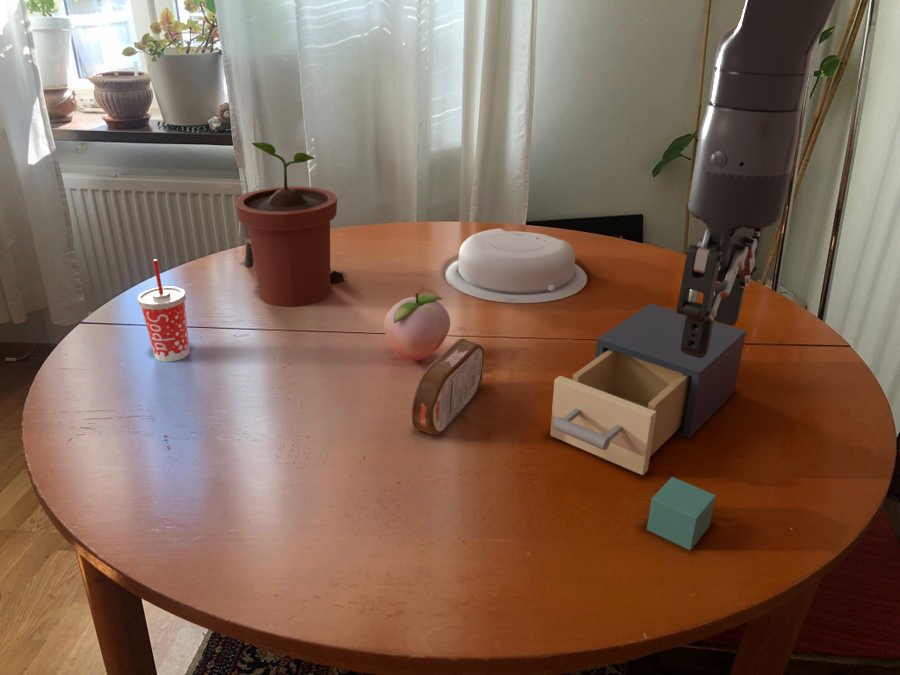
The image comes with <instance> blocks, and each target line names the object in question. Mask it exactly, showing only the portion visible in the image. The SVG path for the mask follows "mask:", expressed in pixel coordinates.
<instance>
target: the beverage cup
mask: <svg viewBox="0 0 900 675" xmlns="http://www.w3.org/2000/svg"><path fill="white" fill-rule="evenodd" d="M152 262H153V267H154V274H155V277H156V284H157V287H153V288H150V289H147V290H144V291H142V292H141V293H139V294H138V296H137V298H136V300H137V302H138V306H139V308H141V310H142V315H143V318H144V322H145V326H146V329H147V330H146V331H147V333H148V337H149V340H150V344H151V348H152V351H153V356H154V359H155V360H157V361H159V362H165V363H169V362H170V363H172V362H176V361H180V360H182V359H183V360H184V359H185V358H186V357H187V356H189V354H190V342H189V332H188V324H187V312H186V303H185V302H186V300H187V297H186V295H187V294H186V291H185V289H183V288H181V287H178V286H171V285H170V286H162V281H161V275H160V274H161V273H160V268H159V263H158V259H157V258H155V259H153V261H152Z"/></svg>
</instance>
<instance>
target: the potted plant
mask: <svg viewBox="0 0 900 675" xmlns="http://www.w3.org/2000/svg"><path fill="white" fill-rule="evenodd" d="M251 144H252V146H254V147H256V148H258V149H259V150H261V151H262V152H265V153H267V154H268V155H270V156H272V157H275V158H277V159H278V160H280V161H281V162H282V164H283V186H274V187H267V188H261V189H257V190H253V191H249V192H246V193H244V194H242V195H240V196H238V197H237V199H235V201H234V204H235V208H236V212H237V216H238V221H239V222H238V235H239V237H240V239H242V240H249V241H247V242H246V244H245V256H244V257H245V258H244V266H245V268H248V269H252V268H253V267H254V270H255V274H256V280H257V286H258V291H259V296H260V299H261V300H262V301H263V302H265V303H267V304H269V305H273V306H279V307H300V306H307V305H311V304H315V303H317V302H319V301H322V300H324V299H325V298H326V297H328V296H329V295H330V293H331V284H339V283H340V284H341V283H343V282H345V277H344V275H343V273H342V272H340V271H336V270H332V272H331V221H332V220H334V219H335V218H336V216H337V214H338V213H337V211H338V196H337V195H336V193H334V192H333V191H331V190H328V189H324V188H320V187H315V186H305V185H304V186H301V185H300V186H299V185H298V186H297V185H296V186H295V185H294V186H293V185H290V186H289V185H288V172H287V170H288V169H287V168H288V167H289V166H290V165H292V164H298V163H305V162H308V161H311V160H314V159H316V157H314V156H312V155H310V154H308V153H305V152H297V153H295V154H294V155H293V161H292V160H291V161H288V162H286V160H285V158H284V157H283V156H281V155H279V154H277V153H276V148H275V147H274V145H273V144H271V143H270V142H269V143H268V142H251Z"/></svg>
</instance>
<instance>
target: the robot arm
mask: <svg viewBox="0 0 900 675" xmlns="http://www.w3.org/2000/svg"><path fill="white" fill-rule="evenodd" d="M837 1H838V0H745V3H744V6H743V8H742V12H741V16H740V18H739V20H738V22H737V24H735V25H733V26H730V27H729V28H728V29H726V30H725V31H724V32H723V34H722V36H721V37H720V40H719V42H718V45H717V48H716V52H715V57H714V62H713V69H712V75H711V80H710V87H709V94H708V98H707V100H708V102H707V105H706V109H705V113H704V116H703V118H702V122H701V126H700V130H699V136H698V141H697V148H696V154H695V160H694V167H693V172H692V178H691V183H690V184H691V185H690V191H689V196H688V197H689V198H688V204H687V209H688V212H689V214H690V215H691V216H693V217H694V218H695V219H697V220H700V221H702V222H703V223H704V224H705V225H706V230H705V232H704V235H703V237H700V239H699V240H698V242H697V245H695V244H690V245H689V246H688V248H687V250H686V256H685V262H684V268H683V272H682V278H681V283H680V289H679V295H678V298H677V305H676V311H677V314H681V315H685V316H686V319H685V325H684V331H683V337H682V342H681V351H682V352H683V353H684V354H687V355H691V356H694V357H698V358H703V357H704V356H705V355H706V354H707V353H708V349H709V343H710V338H711V333H712V328H713V322H718V323H721V324H725V325H728V326H734V325H736V324H737V323H738V322H739V319H740V314H741V308H742V304H743V298H744V294H745V289H746V288H747V287H748V285H749V284H750V283H751V276H754V275H755V274H756V273H757V271H758V263H759V258H760V253H761V248H762V242H763V238H764V231H765V228H768V227H772V226H774V225H775V224H777V223H778V222H779V221H780V220H781V218H782V214H783V211H784V205H785V200H786V195H787V191H788V187H789V182H790V178H791V173H792V168H793V164H794V159H795V154H796V150H797V146H798V140H799V133H800V132H799V131H800V119H801V111H802V109H801V108H802V106H803V102H804V96H805V93H806V88H807V83H808V78H809V74H810V68H811V62H812V57H813V53H814V49H815V48H816V45H817V44H818V41H819V40H820V37H821V35H822V33H823V31H824V29H825V28H826V26H827V23H828V21H829V19H830V17H831V14H832V12H833V10H834V7H835V5H836V3H837ZM700 293H702V295H703V296H702V302H697V299H698V297H699V294H700Z"/></svg>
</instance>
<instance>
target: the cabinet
mask: <svg viewBox="0 0 900 675" xmlns="http://www.w3.org/2000/svg"><path fill="white" fill-rule="evenodd" d="M685 319H686V316H685V315H681V314H677V310H675V309H672V308H668V307H665V306H661V305H657V304H653V303H649V304H647V305H645V306H644V307H642V308H641V309H640V310H638V311H637V312H635V313H633V314H632V315H630V316H629V317H628V318H626V319H624V320H623V321H622V322H620V323H619V324H617V325H615V326H614V327H612V328H611V329H610V330H608V331H607V332H605V333H604V334H602V335H600V336H599V337H598V338H597V340H596V349H595V350H596V351H595V359H596V358H598V357H599V356H600V355H602V354H603V353H605V352H606V351H608V350H609V349H611V350H614V351H617V352H620V353H623V354H625V355H628V356H631V357H634V358H637V359H640V360H643V361H646V362H649V363H652V364H655V365H658V366H661V367H664V368H667V369H670V370H673V371H676V372H679V373H682V374H685V375H688V376H691V377H692V379H691V385H690V391H689V397H688V403H687V409H686V414H685V420H684V424H683V425H682V426H681V427H680V428H679V429H678V430H677V431H676V432H675V433H674V434H677V435H680V436H683V437H685V438H687V439H689V438H691V437H692V436H693V434H695V433H696V432H697V430H698V429H699V428H700V427H701V426H702V425H703V424H704V423H705V422H706V421H707V420H708V419H709V418H710V417H711V416H712V415H713V414H714V413H715V412H716V411H717V410H718V409H719V408H720V407H721V406H722V405H723V404H724V403H725V402H726V401H727V400H728V398H729V397H731V396H732V394H733V393H734V392H735V390H736V384H737V380H738V375H739V374H738V373H739V371H740V370H739V369H740V364H741V360H742V354H743V350H744V345H745V340H746V335H747V330H746V329H742V328H738V327H735V326H733V325H727V324H723V323H719V322H716V321H714V322H713V328H712V333H711V338H710V343H709V349H708V353H707V354H706V355H705V356H704V357H703V358H698V357H694V356H691V355H687V354H684V353H683V352H682V351H681V342H682V337H683V331H684V325H685Z"/></svg>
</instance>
